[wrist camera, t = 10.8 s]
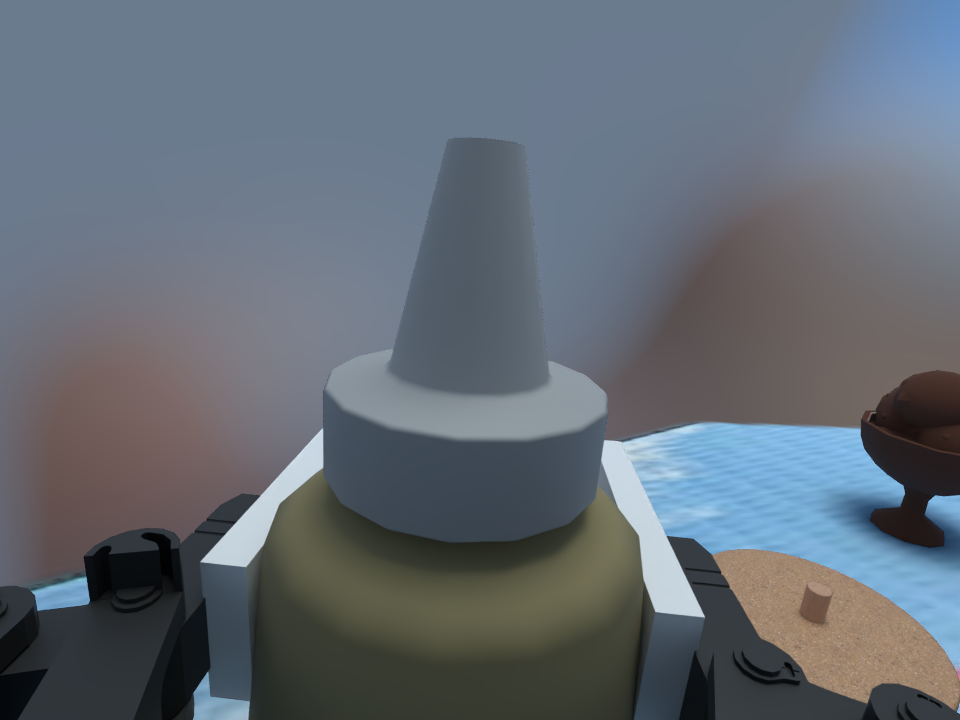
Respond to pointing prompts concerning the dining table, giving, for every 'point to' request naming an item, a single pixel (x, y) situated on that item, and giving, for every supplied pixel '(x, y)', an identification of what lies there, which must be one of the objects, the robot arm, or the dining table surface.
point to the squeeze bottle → (456, 503)
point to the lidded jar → (837, 627)
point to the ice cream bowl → (916, 451)
